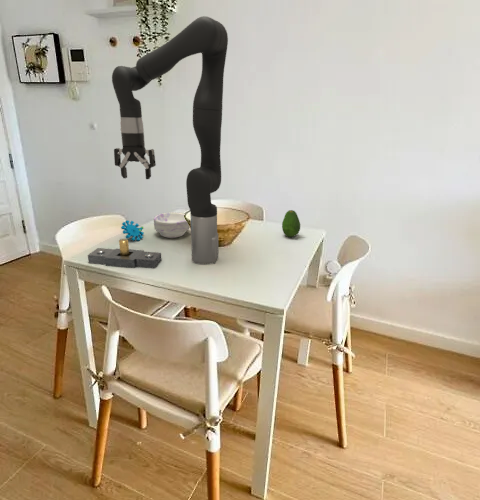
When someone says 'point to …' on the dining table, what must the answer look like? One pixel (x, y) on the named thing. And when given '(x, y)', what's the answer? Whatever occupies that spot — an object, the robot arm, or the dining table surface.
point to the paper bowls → (171, 224)
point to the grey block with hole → (125, 258)
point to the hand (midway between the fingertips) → (136, 178)
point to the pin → (124, 247)
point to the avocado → (291, 224)
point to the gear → (132, 230)
